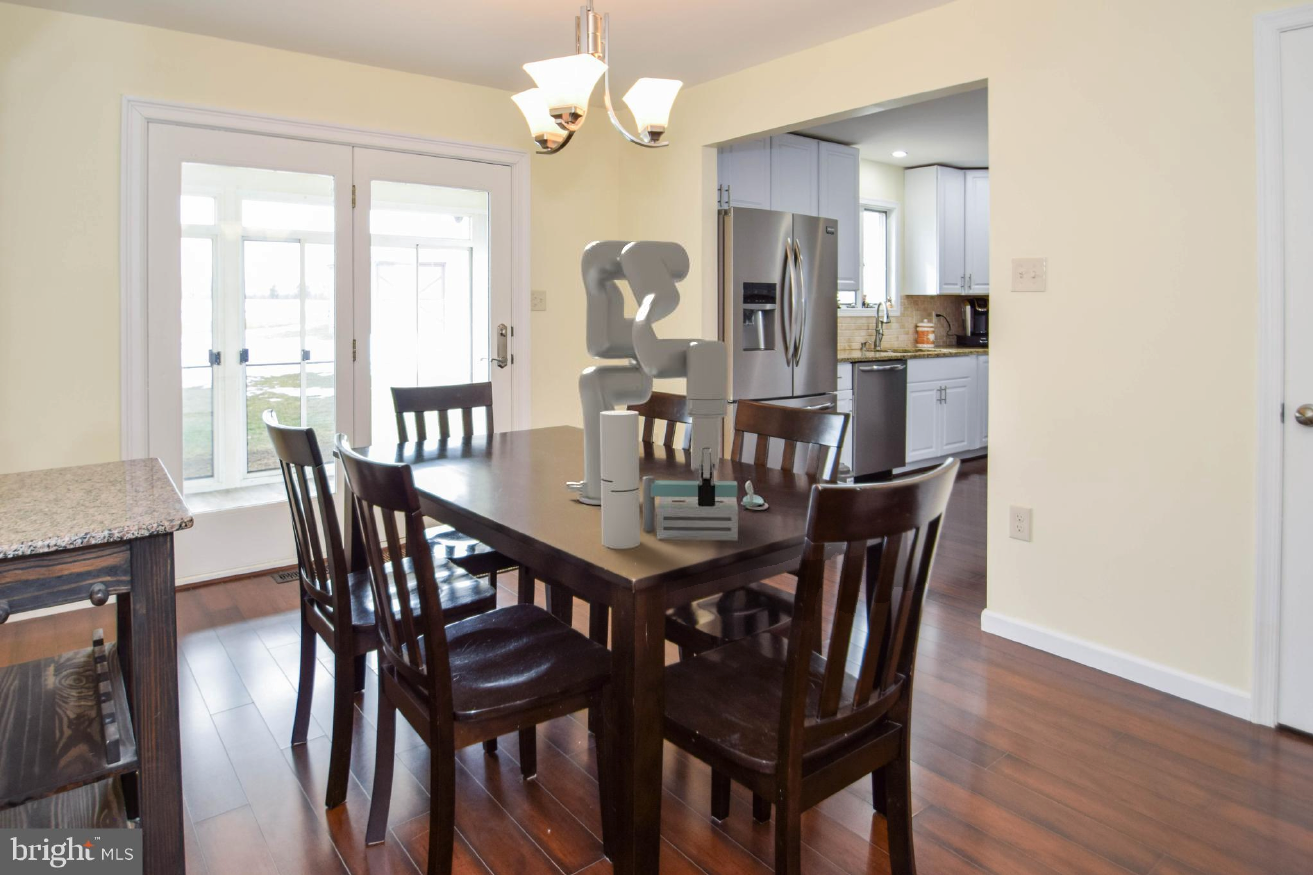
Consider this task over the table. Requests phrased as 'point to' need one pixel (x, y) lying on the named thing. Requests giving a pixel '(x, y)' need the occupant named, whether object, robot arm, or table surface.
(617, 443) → the cylindrical container
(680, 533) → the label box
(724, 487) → the swing bar
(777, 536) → the table surface
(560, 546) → the table surface
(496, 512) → the table surface
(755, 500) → the pacifier
